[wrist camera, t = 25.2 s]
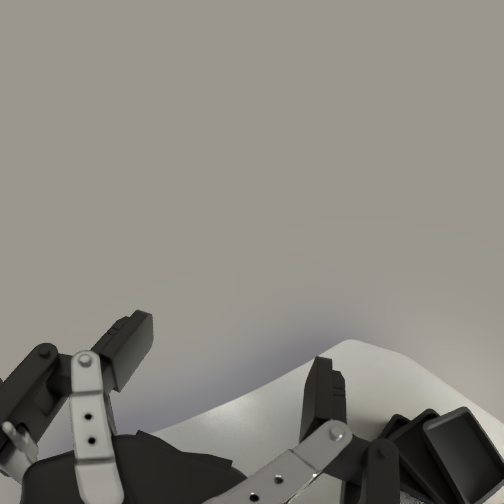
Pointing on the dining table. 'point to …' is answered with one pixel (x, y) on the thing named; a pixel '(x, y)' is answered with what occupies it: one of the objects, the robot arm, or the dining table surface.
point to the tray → (445, 457)
